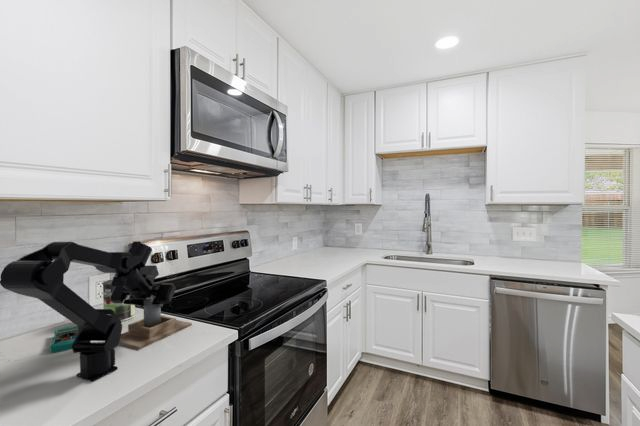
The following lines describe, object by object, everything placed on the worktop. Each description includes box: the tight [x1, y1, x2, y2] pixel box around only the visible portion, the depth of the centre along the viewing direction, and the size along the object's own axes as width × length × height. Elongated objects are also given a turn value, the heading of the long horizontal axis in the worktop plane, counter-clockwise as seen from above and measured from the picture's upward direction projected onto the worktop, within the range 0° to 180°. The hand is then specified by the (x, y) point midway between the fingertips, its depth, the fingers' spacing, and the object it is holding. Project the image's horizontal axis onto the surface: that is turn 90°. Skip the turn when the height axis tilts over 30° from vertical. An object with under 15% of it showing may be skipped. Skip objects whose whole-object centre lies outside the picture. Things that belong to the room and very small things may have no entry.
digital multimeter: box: [50, 325, 78, 354], centre depth 98 cm, size 7×15×3 cm, turn 36°
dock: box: [119, 315, 193, 351], centre depth 104 cm, size 20×14×4 cm
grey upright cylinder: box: [143, 295, 162, 328], centre depth 104 cm, size 5×5×12 cm
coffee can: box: [102, 278, 136, 322], centre depth 118 cm, size 10×10×14 cm
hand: (154, 305), depth 105 cm, fingers closed on grey upright cylinder, 5 cm apart
